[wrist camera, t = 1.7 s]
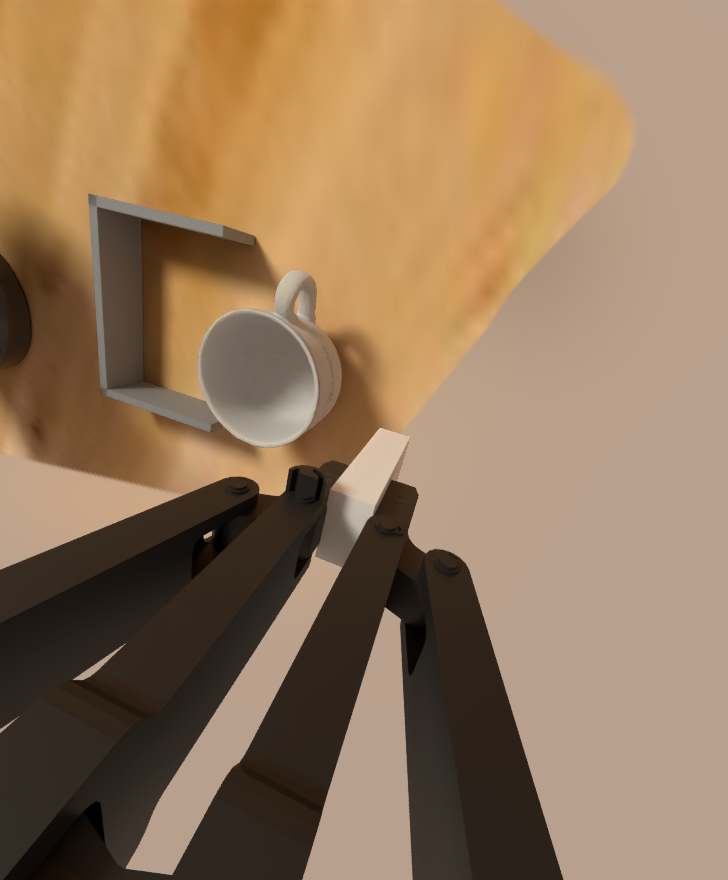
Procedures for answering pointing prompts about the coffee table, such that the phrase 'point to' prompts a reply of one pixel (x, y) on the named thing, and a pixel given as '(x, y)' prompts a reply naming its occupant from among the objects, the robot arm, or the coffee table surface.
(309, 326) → the teacup
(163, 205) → the coffee table surface
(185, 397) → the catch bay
